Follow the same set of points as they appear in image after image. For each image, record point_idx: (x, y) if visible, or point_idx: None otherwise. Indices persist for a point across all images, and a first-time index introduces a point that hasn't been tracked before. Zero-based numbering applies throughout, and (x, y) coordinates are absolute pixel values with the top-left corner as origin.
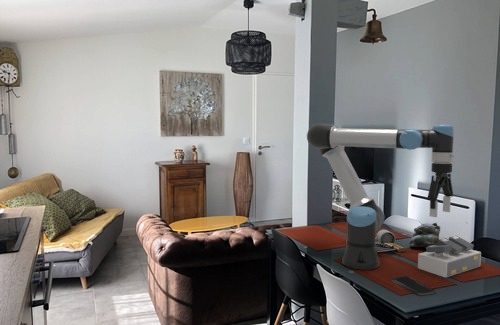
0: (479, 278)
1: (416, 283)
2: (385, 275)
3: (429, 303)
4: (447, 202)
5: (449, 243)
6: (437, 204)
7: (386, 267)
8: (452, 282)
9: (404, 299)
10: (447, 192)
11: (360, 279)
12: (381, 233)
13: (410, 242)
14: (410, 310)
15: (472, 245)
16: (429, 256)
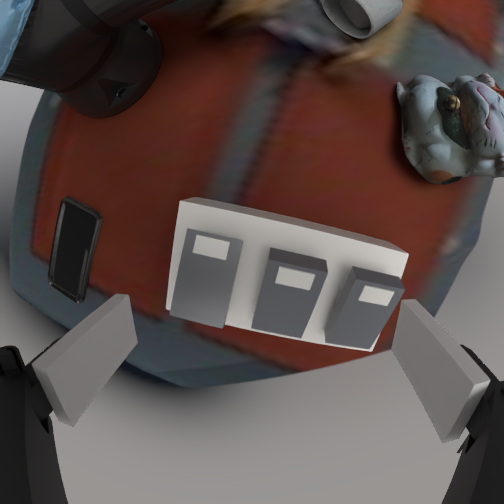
0: (248, 352)
1: (81, 254)
2: (81, 166)
3: (44, 305)
4: (428, 384)
5: (282, 299)
6: (87, 403)
7: (133, 127)
8: (163, 312)
9: (26, 266)
10: (461, 471)
11: (34, 148)
12: None
13: (412, 81)
14: (13, 289)
15: (360, 347)
16: (181, 245)
